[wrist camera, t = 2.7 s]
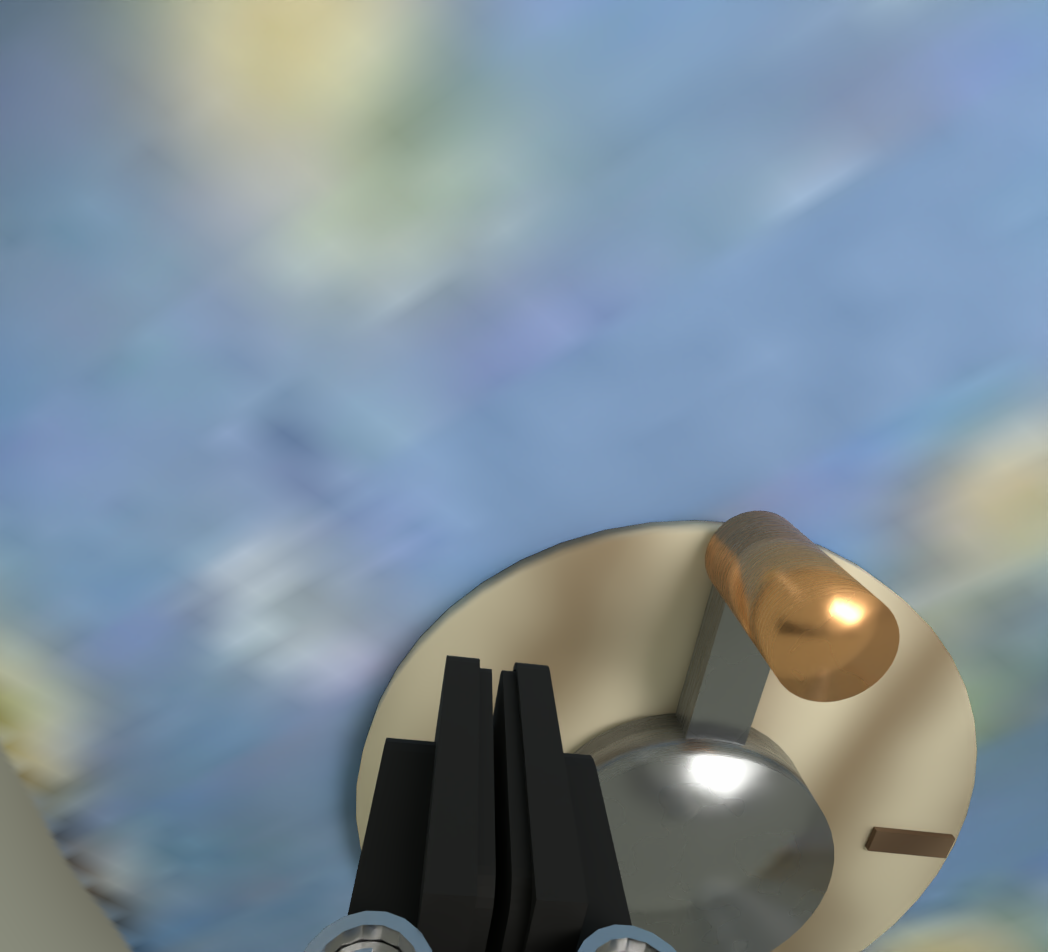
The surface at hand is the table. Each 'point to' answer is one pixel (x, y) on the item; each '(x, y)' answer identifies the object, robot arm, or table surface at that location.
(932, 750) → the dial plate
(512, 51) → the table surface
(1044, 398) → the table surface
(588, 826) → the robot arm
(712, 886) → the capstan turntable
